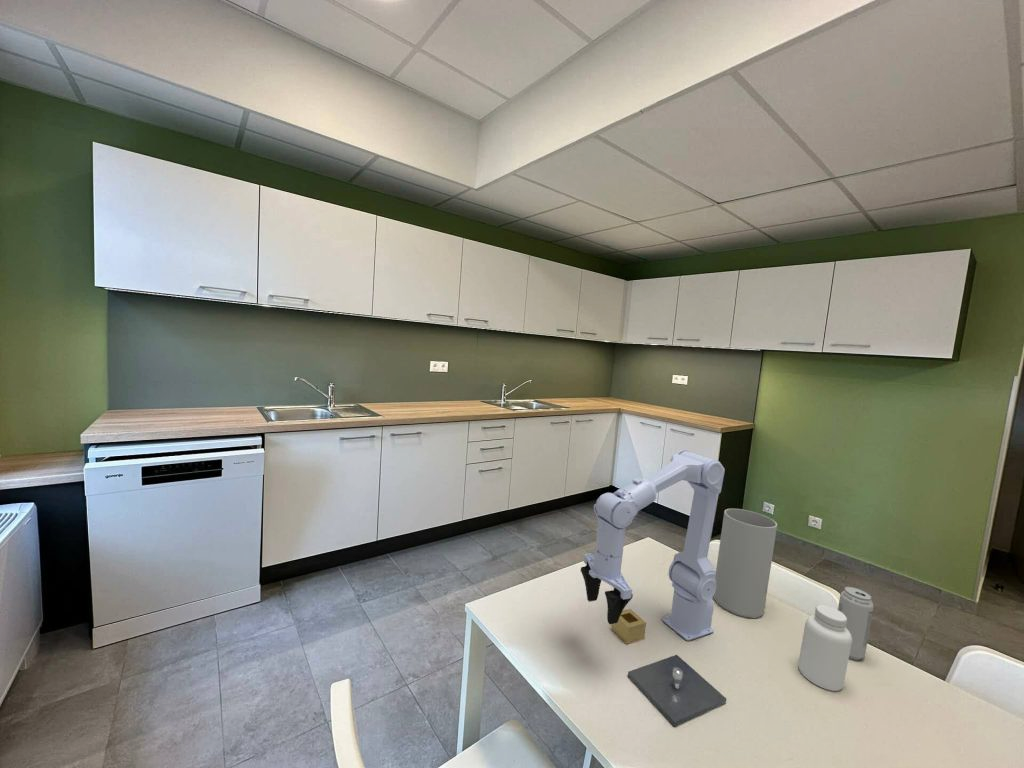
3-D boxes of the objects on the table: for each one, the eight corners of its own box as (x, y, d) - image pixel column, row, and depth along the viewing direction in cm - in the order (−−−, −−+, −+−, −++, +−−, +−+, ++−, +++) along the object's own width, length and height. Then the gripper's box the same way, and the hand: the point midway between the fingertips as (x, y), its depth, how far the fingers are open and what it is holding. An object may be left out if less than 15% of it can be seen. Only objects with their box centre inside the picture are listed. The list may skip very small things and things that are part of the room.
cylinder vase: (707, 603, 111) (719, 515, 109) (718, 585, 121) (730, 505, 119) (759, 626, 103) (773, 532, 101) (767, 605, 113) (780, 519, 111)
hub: (628, 624, 99) (630, 608, 99) (644, 638, 94) (646, 622, 94) (611, 628, 97) (612, 613, 96) (626, 644, 92) (628, 627, 92)
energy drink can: (830, 639, 101) (840, 582, 99) (862, 651, 97) (872, 592, 96) (832, 653, 96) (842, 592, 94) (866, 666, 92) (876, 604, 91)
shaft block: (676, 658, 89) (678, 641, 89) (725, 703, 78) (728, 684, 78) (627, 676, 83) (629, 657, 82) (674, 727, 72) (677, 706, 72)
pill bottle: (832, 697, 82) (843, 628, 81) (790, 668, 89) (800, 604, 88) (851, 685, 86) (862, 619, 85) (809, 659, 93) (819, 597, 92)
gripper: (575, 536, 91) (568, 593, 92) (614, 571, 78) (606, 637, 79) (601, 534, 94) (594, 589, 95) (643, 566, 81) (635, 630, 82)
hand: (601, 610), depth 87 cm, fingers open, 7 cm apart
